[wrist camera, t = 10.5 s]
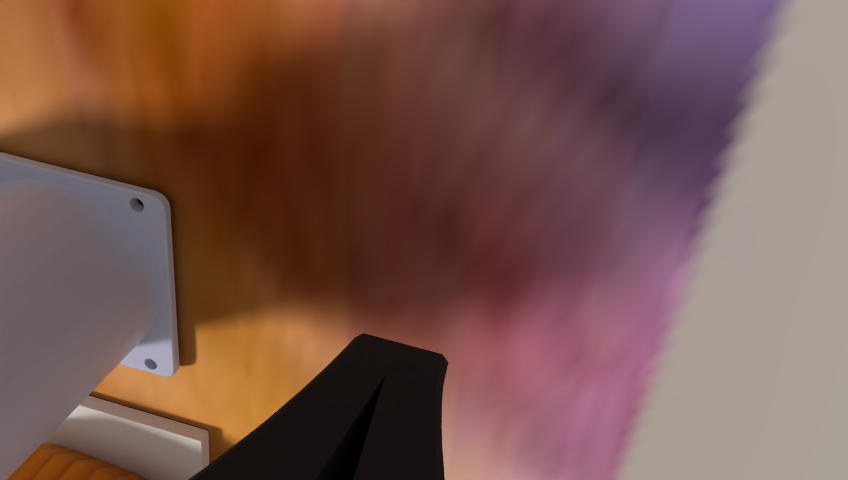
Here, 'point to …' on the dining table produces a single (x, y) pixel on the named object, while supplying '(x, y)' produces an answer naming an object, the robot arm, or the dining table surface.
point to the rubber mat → (134, 440)
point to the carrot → (68, 466)
